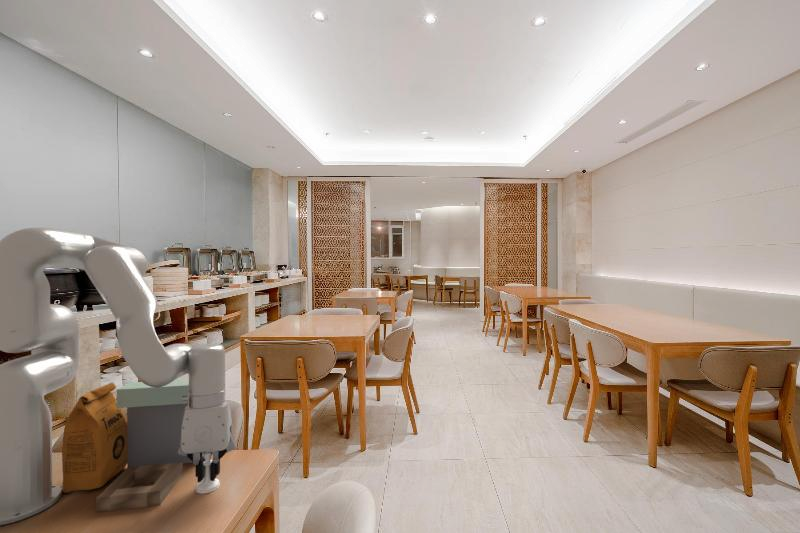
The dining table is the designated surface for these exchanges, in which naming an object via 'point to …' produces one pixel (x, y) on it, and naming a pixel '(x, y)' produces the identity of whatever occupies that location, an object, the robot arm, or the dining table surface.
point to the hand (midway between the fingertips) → (208, 477)
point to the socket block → (128, 497)
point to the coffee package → (94, 441)
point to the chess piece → (207, 477)
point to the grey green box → (154, 422)
